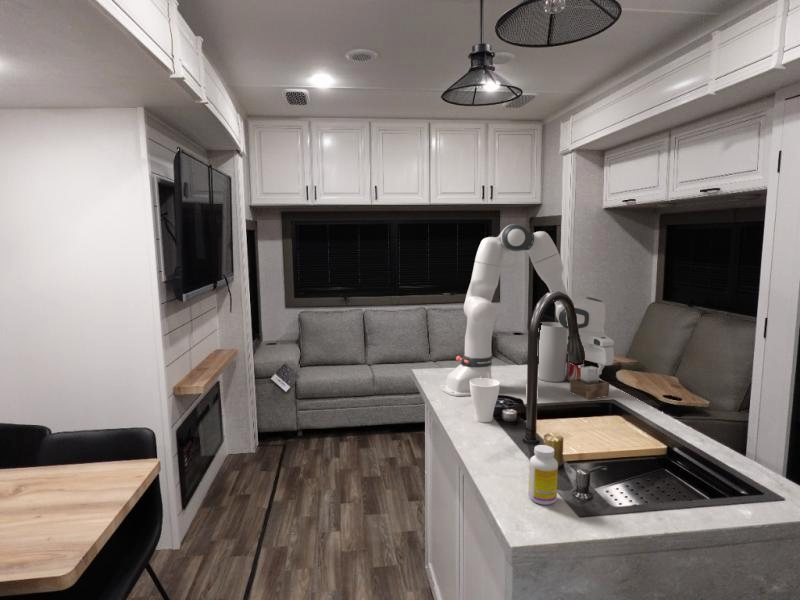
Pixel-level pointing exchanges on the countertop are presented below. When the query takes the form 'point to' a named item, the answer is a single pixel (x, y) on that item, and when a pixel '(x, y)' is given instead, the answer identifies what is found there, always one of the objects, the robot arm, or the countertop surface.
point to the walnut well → (589, 389)
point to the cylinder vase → (552, 352)
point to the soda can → (572, 371)
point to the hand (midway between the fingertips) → (589, 371)
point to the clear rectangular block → (589, 375)
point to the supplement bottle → (543, 476)
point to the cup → (484, 397)
